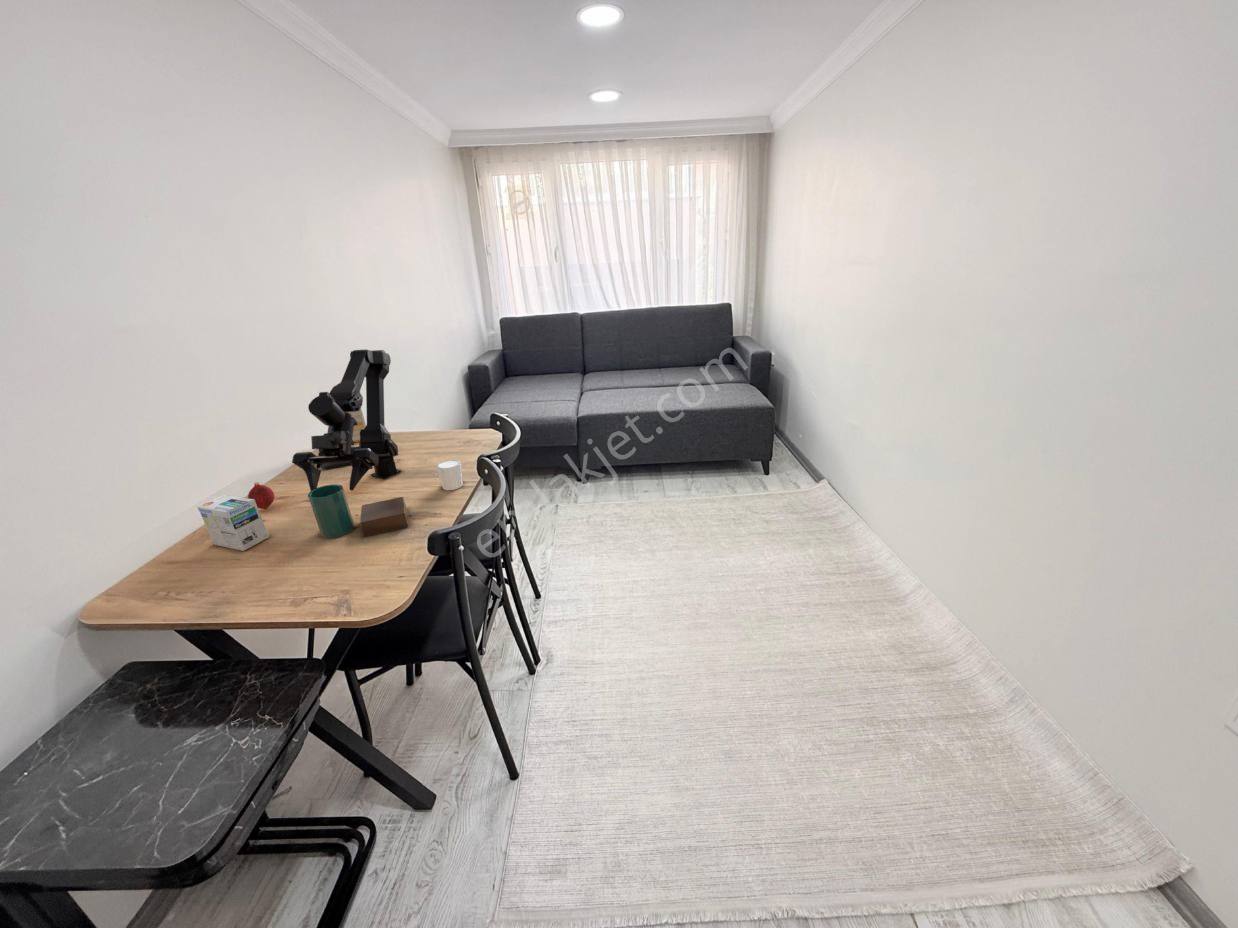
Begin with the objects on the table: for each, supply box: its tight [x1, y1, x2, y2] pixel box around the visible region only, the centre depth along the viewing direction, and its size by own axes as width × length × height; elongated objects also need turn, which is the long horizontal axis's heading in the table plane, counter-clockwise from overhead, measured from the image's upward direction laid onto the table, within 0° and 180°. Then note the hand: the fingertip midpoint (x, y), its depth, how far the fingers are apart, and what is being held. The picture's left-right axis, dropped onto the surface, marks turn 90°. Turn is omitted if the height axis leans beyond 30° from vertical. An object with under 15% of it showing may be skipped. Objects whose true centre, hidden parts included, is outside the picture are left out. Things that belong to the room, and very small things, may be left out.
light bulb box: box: [196, 494, 270, 552], centre depth 118 cm, size 11×7×11 cm, turn 71°
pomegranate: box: [247, 481, 275, 510], centre depth 134 cm, size 6×6×8 cm
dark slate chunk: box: [317, 445, 360, 470], centre depth 167 cm, size 15×22×5 cm
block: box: [359, 496, 409, 538], centre depth 125 cm, size 10×10×4 cm
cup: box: [307, 483, 355, 539], centre depth 121 cm, size 7×7×11 cm
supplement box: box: [347, 407, 367, 444], centre depth 181 cm, size 8×5×13 cm, turn 123°
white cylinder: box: [435, 459, 464, 491], centre depth 143 cm, size 7×7×7 cm
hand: (332, 491), depth 121 cm, fingers open, 9 cm apart
